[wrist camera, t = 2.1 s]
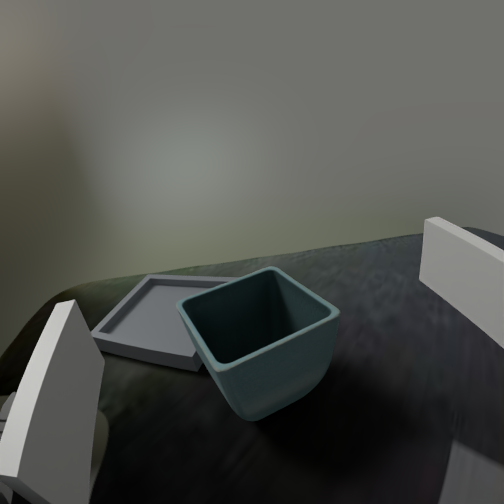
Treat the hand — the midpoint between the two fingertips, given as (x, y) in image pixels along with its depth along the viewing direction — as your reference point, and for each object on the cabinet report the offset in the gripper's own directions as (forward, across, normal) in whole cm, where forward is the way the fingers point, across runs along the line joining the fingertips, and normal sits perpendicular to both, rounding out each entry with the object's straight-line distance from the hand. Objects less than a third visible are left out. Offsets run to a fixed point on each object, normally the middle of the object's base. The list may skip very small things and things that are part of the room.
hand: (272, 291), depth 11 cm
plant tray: (+23, -8, -16) cm, 29 cm away
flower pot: (+9, 0, -16) cm, 18 cm away
